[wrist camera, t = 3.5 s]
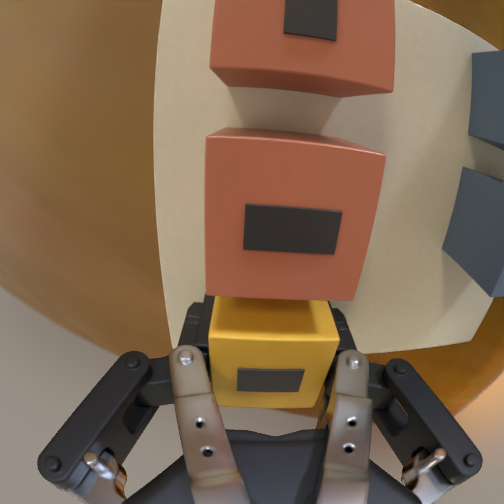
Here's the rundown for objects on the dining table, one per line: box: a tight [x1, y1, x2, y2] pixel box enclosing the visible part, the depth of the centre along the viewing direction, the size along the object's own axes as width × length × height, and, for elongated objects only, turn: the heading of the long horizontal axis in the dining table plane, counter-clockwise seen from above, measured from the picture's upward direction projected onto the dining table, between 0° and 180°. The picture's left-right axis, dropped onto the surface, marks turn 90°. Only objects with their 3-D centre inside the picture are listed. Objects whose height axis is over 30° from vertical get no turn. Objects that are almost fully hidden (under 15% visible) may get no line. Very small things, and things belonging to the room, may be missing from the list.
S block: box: [208, 296, 340, 408], centre depth 12 cm, size 4×4×4 cm
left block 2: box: [204, 127, 386, 301], centre depth 9 cm, size 4×4×4 cm
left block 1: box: [209, 0, 395, 98], centre depth 6 cm, size 4×4×4 cm
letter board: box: [154, 0, 504, 354], centre depth 11 cm, size 19×21×1 cm
